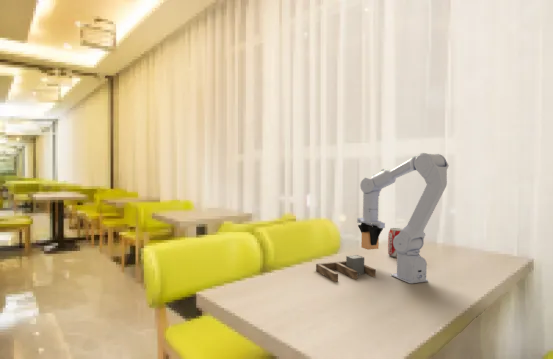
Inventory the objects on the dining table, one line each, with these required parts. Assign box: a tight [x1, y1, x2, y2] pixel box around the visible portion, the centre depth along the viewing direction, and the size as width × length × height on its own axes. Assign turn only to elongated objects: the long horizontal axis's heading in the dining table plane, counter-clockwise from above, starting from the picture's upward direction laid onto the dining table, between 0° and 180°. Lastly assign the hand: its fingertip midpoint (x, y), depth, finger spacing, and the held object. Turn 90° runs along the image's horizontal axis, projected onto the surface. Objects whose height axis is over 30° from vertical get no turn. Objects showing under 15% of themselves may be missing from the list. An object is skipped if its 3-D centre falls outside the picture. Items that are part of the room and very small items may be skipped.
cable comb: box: [315, 260, 377, 282], centre depth 120 cm, size 13×17×2 cm
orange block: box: [360, 232, 380, 250], centre depth 129 cm, size 4×5×6 cm
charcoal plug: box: [345, 254, 365, 276], centre depth 121 cm, size 4×5×6 cm
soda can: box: [387, 227, 403, 258], centre depth 147 cm, size 7×7×12 cm
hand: (369, 243), depth 129 cm, fingers closed on orange block, 4 cm apart
